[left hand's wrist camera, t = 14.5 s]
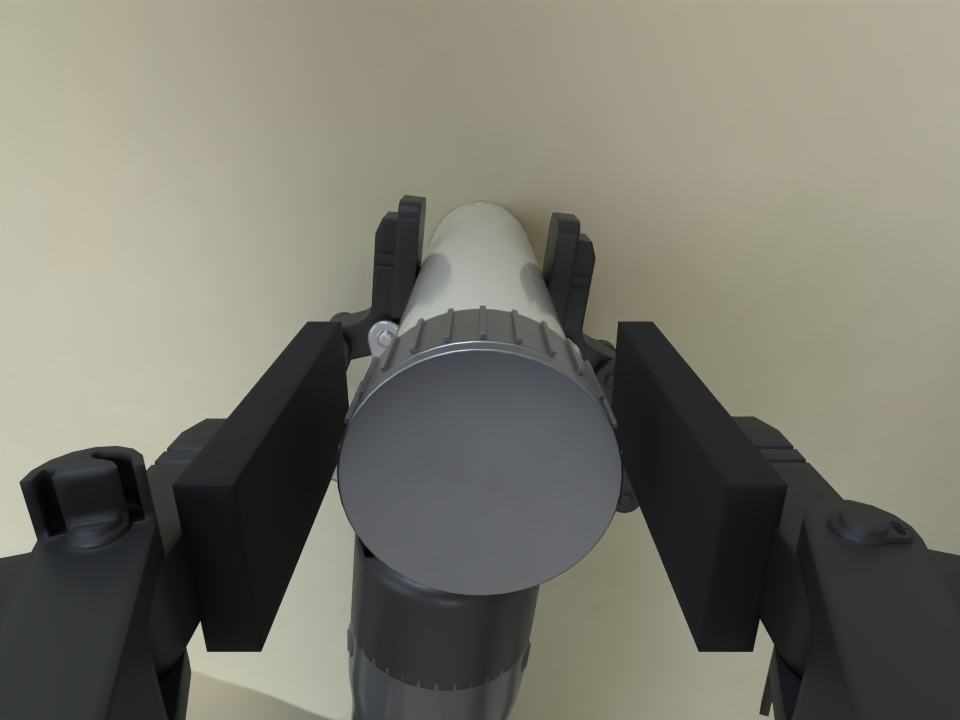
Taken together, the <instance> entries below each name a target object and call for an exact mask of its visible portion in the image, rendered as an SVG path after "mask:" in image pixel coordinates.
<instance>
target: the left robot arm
mask: <svg viewBox="0 0 960 720" xmlns="http://www.w3.org/2000/svg"><path fill="white" fill-rule="evenodd" d="M348 410H349V401H348V390H347V378H346V366H345V355H344V343H343V331H342V322H307V323H306V324H305V325H304V327H303V328H302V329H301V330H300V331H299V333H298V334H297V335H296V336H295V337H294V339H293V340H292V341H291V342H290V343H289V345H288V346H287V347H286V348H285V350H284V351H283V352H282V353H281V354H280V356H279V357H278V358H277V359H276V360H275V362H274V363H273V364H272V365H271V366H270V368H269V369H268V370H267V371H266V372H265V374H264V375H263V376H262V377H261V378H260V380H259V381H258V382H257V383H256V385H255V386H254V387H253V388H252V389H251V391H250V392H249V393H248V394H247V395H246V397H245V398H244V399H243V400H242V401H241V403H240V404H239V405H238V406H237V407H236V409H235V410H234V411H233V412H232V414H231V415H230V416H229V417H228V418H227V419H205V420H203V421H201V422H200V423H198V424H196V425H194V426H193V427H191V428H189V429H187V430H185V431H184V432H182V433H181V434H180V435H179V436H178V437H177V438H176V440H175V441H174V442H173V443H172V444H171V445H170V446H169V447H168V448H167V452H163V453H162V454H161V456H160V457H159V458H158V459H157V460H156V461H155V465H151V466H150V467H149V468H148V469H147V471H146V468H145V463H144V459H143V455H142V454H140V453H139V452H137V451H136V450H134V449H132V448H126V447H120V446H108V447H94V448H89V449H85V450H80V451H75V452H71V453H69V454H66V455H63V456H60V457H58V458H55V459H52V460H50V461H48V462H46V463H44V464H42V465H41V466H39V467H37V468H35V469H34V470H32V471H31V472H30V473H28V474H27V475H26V476H25V477H24V478H23V479H22V480H21V481H20V482H19V483H20V486H21V489H22V492H23V495H24V499H25V502H26V505H27V508H28V511H29V514H30V518H31V521H32V524H33V527H34V530H35V533H36V537H37V542H36V544H35V546H34V548H33V550H32V552H30V553H26V554H20V555H15V556H10V557H5V558H0V720H185V718H186V711H187V703H188V695H189V687H190V679H191V668H190V662H189V657H188V653H187V648H186V646H187V644H188V643H189V641H190V639H191V637H192V635H193V633H194V632H195V630H196V628H197V626H198V624H199V623H200V621H201V625H202V630H203V634H204V639H205V644H206V649H207V652H261V651H262V648H263V646H264V643H265V641H266V639H267V636H268V634H269V631H270V629H271V626H272V624H273V621H274V619H275V616H276V614H277V611H278V609H279V607H280V604H281V602H282V599H283V597H284V594H285V592H286V589H287V587H288V584H289V582H290V579H291V577H292V575H293V572H294V570H295V567H296V565H297V562H298V560H299V557H300V555H301V552H302V550H303V548H304V545H305V543H306V540H307V538H308V535H309V533H310V530H311V528H312V525H313V523H314V520H315V518H316V516H317V513H318V511H319V508H320V506H321V503H322V501H323V498H324V496H325V493H326V491H327V488H328V486H329V484H330V481H331V479H332V476H333V474H334V471H335V469H336V466H337V462H338V447H339V444H340V442H341V440H342V437H343V435H344V432H345V430H346V427H347V425H348V424H346V423H344V419H345V417H346V414H347V412H348ZM611 410H612V412H613V415H614V417H615V419H616V421H617V424H618V428H615V431H616V434H617V437H618V440H619V443H620V447H621V450H622V452H623V457H622V458H623V466H624V469H625V471H626V474H627V476H628V479H629V481H630V484H631V486H632V488H633V491H634V493H635V496H636V498H637V501H638V503H639V506H640V508H641V511H642V513H643V516H644V518H645V520H646V523H647V525H648V528H649V530H650V533H651V535H652V538H653V540H654V543H655V545H656V548H657V550H658V552H659V555H660V557H661V560H662V562H663V565H664V567H665V570H666V572H667V575H668V577H669V579H670V582H671V584H672V587H673V589H674V592H675V594H676V597H677V599H678V602H679V604H680V607H681V609H682V611H683V614H684V616H685V619H686V621H687V624H688V626H689V629H690V631H691V634H692V636H693V639H694V641H695V643H696V646H697V648H698V651H699V652H753V649H754V644H755V639H756V634H757V630H758V625H759V620H760V619H761V621H762V623H763V625H764V627H765V628H766V630H767V632H768V634H769V636H770V637H771V639H772V641H773V643H774V648H773V653H772V657H771V661H770V666H769V670H768V675H767V679H766V683H765V688H764V692H763V697H762V701H761V707H760V714H761V715H765V716H768V715H769V711H770V707H771V703H772V702H773V709H774V717H775V720H960V555H955V554H950V553H944V552H939V551H934V550H930V549H927V547H926V545H925V543H924V541H923V539H922V538H921V537H920V536H919V535H918V533H917V532H916V531H915V530H914V529H913V528H912V526H910V525H909V524H907V523H905V522H904V521H902V520H901V519H899V518H898V517H896V516H895V515H893V514H891V513H889V512H886V511H884V510H881V509H879V508H877V507H874V506H872V505H868V504H864V503H860V502H855V501H851V500H843V498H842V497H841V496H840V495H839V494H838V493H837V492H836V491H835V490H834V489H833V488H832V487H831V486H830V485H829V484H828V483H827V481H826V480H825V479H824V478H823V477H822V476H821V475H820V474H819V473H818V472H817V471H816V470H815V469H814V468H813V467H812V466H811V464H810V463H806V459H805V458H804V457H803V456H802V455H801V454H800V453H799V452H798V451H797V450H796V449H793V445H792V444H791V443H790V442H789V441H788V440H787V439H786V438H785V437H784V436H783V435H782V434H781V433H780V432H779V430H777V429H775V428H773V427H772V426H770V425H768V424H766V423H764V422H763V421H761V420H759V419H757V418H755V417H731V416H730V415H729V414H728V412H727V411H726V410H725V409H724V407H723V406H722V405H721V404H720V403H719V401H718V400H717V399H716V398H715V397H714V395H713V394H712V393H711V392H710V391H709V389H708V388H707V387H706V386H705V385H704V383H703V382H702V381H701V380H700V379H699V377H698V376H697V375H696V374H695V372H694V371H693V370H692V369H691V368H690V366H689V365H688V364H687V363H686V362H685V360H684V359H683V358H682V357H681V356H680V354H679V353H678V352H677V351H676V350H675V348H674V347H673V346H672V345H671V343H670V342H669V341H668V340H667V339H666V337H665V336H664V335H663V334H662V333H661V331H660V330H659V329H658V328H657V327H656V325H655V324H654V323H653V322H618V331H617V343H616V355H615V366H614V378H613V390H612V401H611Z"/></svg>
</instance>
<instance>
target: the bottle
mask: <svg viewBox="0 0 960 720" xmlns="http://www.w3.org/2000/svg"><path fill="white" fill-rule="evenodd" d="M480 305H485V306H486V309H495V310H501V311H508V312H511V311H512V309H514V310H517V311H518V314H519V315H522V316H525V317H528V318H530V319H532V320H535V321H537V322H539V323H541V321H542V320H543V321H545V322H547V324H548V327H549V328H550V329H551V330H553V331H555V332H556V333H557V334H558V335H560V336H561V337H562V338H563V339H565V340H566V339H567V338H566V335H565V333H564V330H563V328H562V325H561V322H560V320H559V317H558V315H557V312H556V310H555V307H554V304H553V302H552V299H551V297H550V294H549V291H548V289H547V286H546V284H545V281H544V278H543V276H542V273H541V271H540V268H539V265H538V263H537V260H536V258H535V255H534V252H533V250H532V247H531V245H530V242H529V239H528V237H527V234H526V232H525V230H524V228H523V226H522V224H521V223H520V222H519V220H518V219H517V218H516V217H515V216H514V215H513V214H512V213H510V212H509V211H508V210H506V209H504V208H503V207H500V206H498V205H495V204H492V203H486V202H474V203H469V204H465V205H462V206H460V207H458V208H456V209H454V210H452V211H451V212H450V213H448V214H447V215H446V216H445V217H444V218H443V219H442V221H441V222H440V223H439V225H438V226H437V228H436V230H435V232H434V235H433V237H432V240H431V242H430V245H429V248H428V250H427V253H426V255H425V258H424V261H423V263H422V266H421V268H420V271H419V274H418V276H417V279H416V281H415V284H414V287H413V289H412V292H411V294H410V297H409V300H408V302H407V305H406V307H405V310H404V313H403V315H402V318H401V320H400V323H399V326H398V328H397V331H396V333H395V335H396V334H397V335H398V337H399V336H401V335H402V334H403V333H405V332H406V331H408V330H409V329H410V328H412V327H414V326H416V324H417V321H418V320H419V319H421V318H423V319H424V321H425V320H427V319H430V318H433V317H435V316H438V315H441V314H445V313H447V311H448V309H451V308H453V309H454V311H458V310H467V309H480Z"/></svg>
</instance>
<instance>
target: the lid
mask: <svg viewBox="0 0 960 720" xmlns="http://www.w3.org/2000/svg"><path fill="white" fill-rule="evenodd" d="M344 423H346V424H348V425H347V427H346V430H345V432H344V435H343V437H342V440H341V442H340V444H339V447H338V462H337V481H338V489H339V494H340V498H341V503H342V505H343V508H344V511H345V513H346V516H347V518H348V520H349V522H350V524H351V526H352V527H353V529H354V531H355V533H356V534H357V535H358V537H359V538H360V539H361V541H362V542H363V543H364V545H365V546H366V547H367V548H368V549H369V550H370V551H371V552H372V553H373V554H374V555H375V556H376V557H377V558H378V559H379V560H381V561H382V562H383V563H384V564H386V565H387V566H388V567H389V568H391V569H392V570H394V571H396V572H397V573H399V574H400V575H402V576H404V577H406V578H408V579H410V580H412V581H414V582H416V583H418V584H421V585H424V586H427V587H430V588H433V589H436V590H440V591H445V592H449V593H455V594H463V595H497V594H505V593H511V592H516V591H521V590H524V589H527V588H530V587H534V586H537V585H539V584H541V583H544V582H546V581H548V580H551V579H553V578H554V577H556V576H558V575H560V574H561V573H563V572H565V571H567V570H568V569H569V568H571V567H572V566H573V565H575V564H576V563H577V562H579V561H580V560H581V559H582V558H583V557H584V556H585V555H586V554H587V553H589V552H590V551H591V550H592V548H593V547H594V546H595V545H596V544H597V542H598V541H599V540H600V539H601V538H602V536H603V534H604V533H605V531H606V530H607V528H608V526H609V525H610V523H611V521H612V518H613V516H614V514H615V512H616V509H617V506H618V503H619V499H620V496H621V492H622V484H623V458H622V457H623V452H622V450H621V447H620V443H619V440H618V437H617V434H616V431H615V428H618V424H617V421H616V419H615V417H614V415H613V412H612V410H611V408H610V405H609V403H608V401H607V399H606V396H605V394H604V392H603V390H602V387H601V385H600V384H599V382H598V380H597V378H596V375H595V373H594V371H593V368H592V366H591V364H590V362H589V361H588V360H586V361H583V360H582V358H581V357H580V355H579V354H578V353H577V351H576V350H575V348H574V345H573V343H572V341H571V340H570V339H569V338H567V339H566V340H565V339H563V338H562V337H561V336H560V335H558V334H557V333H556V332H555V331H553V330H551V329H550V328H549V327H548V324H547V322H545V321H543V320H542V321H541V323H539V322H537V321H535V320H532V319H530V318H528V317H525V316H522V315H519V314H518V311H517V310H514V309H512V311H511V312H508V311H501V310H495V309H486V306H485V305H480V309H467V310H458V311H454V309H453V308H451V309H448V311H447V313H445V314H441V315H438V316H435V317H433V318H430V319H427V320H425V321H424V319H423V318H421V319H419V320H418V321H417V324H416V326H414V327H412V328H410V329H409V330H408V331H406V332H405V333H403V334H402V335H401V336H399V337H398V335H397V334H396V335H394V336H393V337H392V339H391V342H390V344H389V346H388V347H387V348H386V350H385V351H384V352H383V353H382V355H381V356H380V357H379V358H378V357H377V356H375V357H374V358H373V360H372V362H371V364H370V366H369V369H368V371H367V373H366V376H365V378H364V380H363V381H361V383H360V385H359V387H358V390H357V392H356V394H355V396H354V399H353V401H352V403H351V405H350V408H349V410H348V412H347V414H346V417H345V419H344Z"/></svg>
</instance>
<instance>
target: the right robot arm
mask: <svg viewBox="0 0 960 720" xmlns="http://www.w3.org/2000/svg"><path fill="white" fill-rule="evenodd" d="M425 211H426V197H417V196H409V195H405V196H404V197H403V198H402V199H401V200H400V203H399V209H398V212H388V213H387V214H386V215H385V216H384V217H383V219H382V221H381V223H380V225H379V227H378V229H377V231H376V235H375V254H374V273H373V291H372V306H371V307H370V308H369V309H367V310H364V311H361V312H357V313H352V314H350V313H346V312H342V313H338V314H336V315H334V316H333V317H332V319H331V320H330V321H329V322H342V331H343V343H344V355H345V366H346V372H347V369H348V366H349V364H350V361H351V360H352V359H356V358H361V357H365V356H369V355H372V358H374V357H375V356H377V357H378V358H379V357H380V356H381V355H382V353H383V352H384V351H385V350H386V348H387V347H388V346H389V344H390V342H391V339H392V337H393V336H394V335H395V333H396V331H397V328H398V326H399V323H400V320H401V318H402V315H403V313H404V310H405V307H406V305H407V302H408V300H409V297H410V294H411V292H412V289H413V287H414V284H415V281H416V279H417V276H418V274H419V271H420V268H421V260H422V248H423V236H424V224H425ZM594 263H595V254H594V249H593V244H592V241H591V240H590V239H589V238H588V237H587V236H586V234H580V221H579V220H578V219H577V218H576V216H575V215H572V214H564V213H556V212H553V214H552V217H551V221H550V227H549V233H548V240H547V246H546V252H545V259H544V265H543V271H542V276H543V278H544V281H545V284H546V286H547V289H548V291H549V294H550V297H551V299H552V302H553V304H554V307H555V310H556V312H557V315H558V317H559V320H560V322H561V325H562V328H563V330H564V333H565V335H566V338H569V339H570V340H571V341H572V343H573V345H574V348H575V350H576V351H577V353H578V354H579V355H580V357H581V358H582V360H583V361H586V360H588V361H589V362H590V364H591V366H592V368H593V371H594V373H595V375H596V378H597V380H598V382H599V384H600V385H601V387H602V390H603V392H604V394H605V396H606V399H607V401H608V403H609V405H610V408H611V401H612V390H613V378H614V366H615V355H616V349H615V348H614V346H613V345H612V344H611V343H610V342H608V341H605V340H595V339H593V338H591V337H589V336H587V335H585V334H584V333H583V332H582V327H583V322H584V316H585V311H586V306H587V300H588V295H589V288H590V284H591V279H592V274H593V268H594ZM331 480H334V481H336V482H338V481H337V466H336V469H335V471H334V474H333V476H332V479H331ZM638 507H639V503H638V501H637V498H636V496H635V493H634V491H633V488H632V486H631V484H630V481H629V479H628V476H627V474H626V471H625V469H624V466H623V484H622V492H621V496H620V499H619V503H618V506H617V509H616V511H618V512H621V513H627V512H631V511H633V510H635V509H636V508H638ZM539 586H540V584H539V585H537V586H534V587H530V588H527V589H524V590H521V591H516V592H511V593H505V594H497V595H463V594H455V593H449V592H445V591H440V590H436V589H433V588H430V587H427V586H424V585H421V584H418V583H416V582H414V581H412V580H410V579H408V578H406V577H404V576H402V575H400V574H399V573H397V572H396V571H394V570H392V569H391V568H389V567H388V566H387V565H386V564H384V563H383V562H382V561H381V560H379V559H378V558H377V557H376V556H375V555H374V554H373V553H372V552H371V551H370V550H369V549H368V548H367V547H366V546H365V545H364V543H363V542H362V541H361V539H360V538H359V537H358V535H357V534H356V533H355V549H354V568H353V587H352V608H351V623H350V624H349V629H348V630H347V648H348V651H349V676H350V684H351V691H352V718H351V720H508V718H509V714H510V712H511V709H512V707H513V704H514V702H515V699H516V696H517V693H518V690H519V687H520V683H521V679H522V674H523V671H524V669H525V668H526V665H527V661H528V656H529V651H530V646H531V643H530V639H529V638H530V633H531V628H532V622H533V617H534V612H535V607H536V601H537V596H538V591H539Z"/></svg>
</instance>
